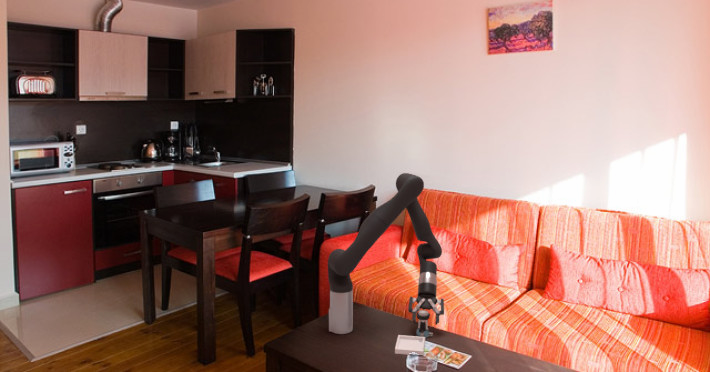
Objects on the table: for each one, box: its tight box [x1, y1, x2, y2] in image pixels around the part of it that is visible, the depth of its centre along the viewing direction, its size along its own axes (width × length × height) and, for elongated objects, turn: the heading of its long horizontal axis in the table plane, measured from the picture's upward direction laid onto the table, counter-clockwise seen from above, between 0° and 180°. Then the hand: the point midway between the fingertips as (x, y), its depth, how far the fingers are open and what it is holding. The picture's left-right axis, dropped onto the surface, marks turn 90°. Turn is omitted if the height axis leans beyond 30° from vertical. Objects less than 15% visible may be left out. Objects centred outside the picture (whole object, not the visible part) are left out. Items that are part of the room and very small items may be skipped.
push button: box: [416, 309, 434, 338], centre depth 213 cm, size 7×5×10 cm
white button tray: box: [394, 334, 426, 356], centre depth 204 cm, size 10×12×2 cm
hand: (425, 323), depth 213 cm, fingers open, 8 cm apart
